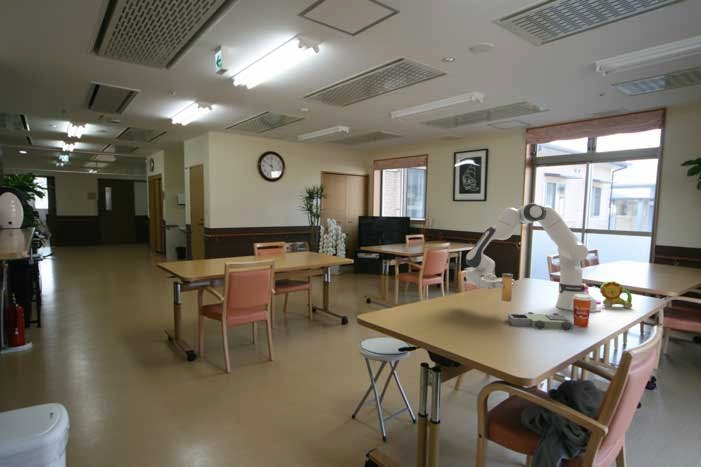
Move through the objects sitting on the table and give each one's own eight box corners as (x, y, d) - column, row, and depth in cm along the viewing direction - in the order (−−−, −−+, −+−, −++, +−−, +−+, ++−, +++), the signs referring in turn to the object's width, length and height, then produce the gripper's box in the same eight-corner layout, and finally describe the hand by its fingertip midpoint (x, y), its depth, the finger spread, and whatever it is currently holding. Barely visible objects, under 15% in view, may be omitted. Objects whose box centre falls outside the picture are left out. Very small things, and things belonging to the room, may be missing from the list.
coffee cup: (571, 326, 190) (573, 296, 189) (570, 322, 197) (572, 293, 196) (591, 329, 186) (593, 298, 185) (590, 324, 193) (591, 295, 192)
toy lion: (628, 306, 229) (630, 281, 228) (632, 309, 224) (633, 283, 223) (598, 304, 234) (599, 279, 233) (600, 306, 229) (602, 281, 228)
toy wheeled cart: (561, 321, 199) (561, 313, 198) (573, 330, 183) (574, 322, 183) (524, 319, 201) (524, 311, 201) (533, 328, 186) (533, 320, 186)
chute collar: (526, 321, 198) (526, 314, 198) (531, 326, 189) (531, 319, 189) (507, 320, 200) (507, 313, 199) (512, 325, 191) (512, 318, 190)
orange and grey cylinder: (510, 299, 208) (511, 273, 206) (513, 301, 202) (514, 275, 201) (499, 298, 208) (500, 273, 207) (502, 301, 203) (503, 275, 202)
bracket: (576, 299, 246) (577, 289, 246) (582, 299, 249) (583, 288, 248) (596, 304, 234) (597, 293, 234) (602, 303, 237) (603, 292, 236)
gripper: (502, 285, 221) (522, 290, 208) (474, 287, 212) (493, 293, 200) (503, 274, 220) (522, 278, 208) (475, 276, 212) (494, 281, 199)
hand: (508, 285), depth 204 cm, fingers closed on orange and grey cylinder, 5 cm apart
